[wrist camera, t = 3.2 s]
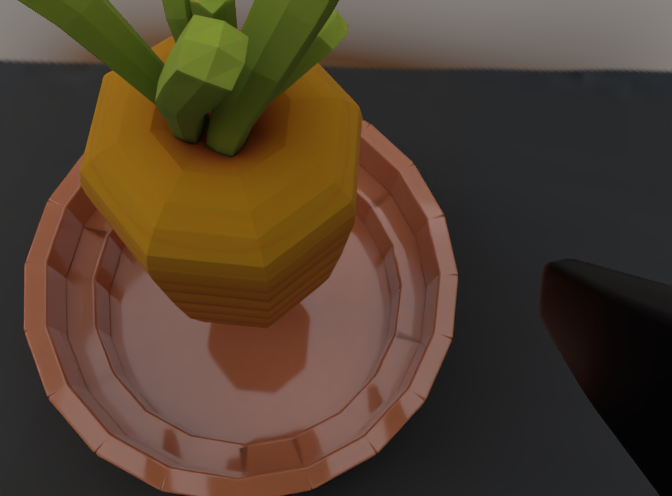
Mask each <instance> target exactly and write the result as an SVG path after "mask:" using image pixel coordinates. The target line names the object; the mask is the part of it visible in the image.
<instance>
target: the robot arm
mask: <svg viewBox="0 0 672 496" xmlns="http://www.w3.org/2000/svg"><path fill="white" fill-rule="evenodd" d="M539 312H540V317H541V319H542V322H543V324H544V326H545V327H546V329H547V331H548V332H549V334H550V336H551V337H552V339H553V341H554V343H555V344H556V346H557V348H558V349H559V351H560V353H561V354H562V356H563V358H564V360H565V361H566V363H567V365H568V366H569V368H570V370H571V371H572V373H573V375H574V376H575V378H576V380H577V382H578V383H579V385H580V387H581V388H582V390H583V391H584V393H585V394H586V396H587V398H588V399H589V401H590V402H591V403H592V405H593V406H594V408H595V409H596V410H597V412H598V413H599V415H600V416H601V417H602V419H603V420H604V421H605V423H606V424H607V425H608V427H609V428H610V429H611V431H612V432H613V433H614V435H615V436H616V437H617V439H618V440H619V441H620V443H621V444H622V446H623V447H624V448H625V450H626V451H627V452H628V454H629V455H630V456H631V458H632V459H633V460H634V462H635V463H636V464H637V466H638V467H639V468H640V470H641V471H642V472H643V474H644V475H645V476H646V478H647V479H648V480H649V482H650V483H651V484H652V486H653V487H654V488H655V490H656V491H657V493H658V494H659V495H660V496H672V286H671V285H667V284H664V283H660V282H656V281H653V280H649V279H645V278H642V277H638V276H634V275H631V274H627V273H623V272H620V271H616V270H612V269H609V268H605V267H601V266H598V265H594V264H591V263H587V262H583V261H580V260H576V259H564V260H559V261H553V262H549V263H548V264H546V265H545V267H544V269H543V273H542V282H541V292H540V303H539Z"/></svg>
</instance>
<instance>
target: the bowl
mask: <svg viewBox="0 0 672 496" xmlns="http://www.w3.org/2000/svg"><path fill="white" fill-rule="evenodd" d="M83 157H84V154H83V155H82V156H81V158H80V159H79V160H78V162H77V163H76V164H75V166H74V167H73V168H72V169H71V171H70V172H69V173H68V175H67V176H66V177H65V179H64V180H63V181H62V182H61V184H60V185H59V186H58V188H57V189H56V190H55V191H54V193H53V194H52V195H51V197H50V198H49V202H47V203H46V206H45V209H44V212H43V214H42V217H41V220H40V223H39V226H38V228H37V231H36V234H35V237H34V239H33V242H32V245H31V248H30V251H29V253H28V256H27V259H26V263H25V271H24V331H25V336H26V339H27V341H28V344H29V347H30V350H31V353H32V356H33V358H34V361H35V364H36V367H37V370H38V373H39V375H40V378H41V381H42V384H43V387H44V390H45V392H46V395H47V397H49V401H50V402H51V403H52V404H53V405H54V407H55V408H56V409H57V410H58V411H59V412H60V414H61V415H62V416H63V417H64V418H65V420H66V421H67V422H68V423H69V424H70V426H71V427H72V428H73V429H74V430H75V431H76V433H77V434H78V435H79V436H80V437H81V439H82V440H83V441H84V442H85V443H86V445H87V446H88V447H89V448H90V449H91V450H92V452H94V453H96V455H97V456H99V457H100V458H102V459H104V460H106V461H108V462H109V463H111V464H113V465H115V466H116V467H118V468H120V469H122V470H124V471H125V472H127V473H129V474H131V475H132V476H134V477H136V478H138V479H140V480H141V481H143V482H145V483H147V484H148V485H150V486H152V487H154V488H156V489H157V490H161V491H162V492H167V493H174V494H180V495H186V496H284V495H289V494H295V493H301V492H306V491H311V490H312V489H316V488H317V487H319V486H321V485H323V484H325V483H326V482H328V481H330V480H332V479H334V478H336V477H337V476H339V475H341V474H343V473H345V472H346V471H348V470H350V469H352V468H354V467H355V466H357V465H359V464H361V463H363V462H364V461H366V460H368V459H370V458H372V457H373V456H375V455H376V453H379V452H380V451H381V450H382V449H383V448H384V447H385V446H386V444H387V443H388V442H389V441H390V440H391V439H392V438H393V437H394V436H395V435H396V433H397V432H398V431H399V430H400V429H401V428H402V427H403V426H404V425H405V424H406V422H407V421H408V420H409V419H410V418H411V417H412V416H413V415H414V414H415V413H416V412H417V410H418V409H419V408H420V407H421V406H422V405H423V404H424V402H425V400H426V399H427V397H428V395H429V393H430V390H431V388H432V386H433V383H434V381H435V379H436V377H437V374H438V372H439V370H440V367H441V365H442V363H443V361H444V358H445V356H446V354H447V352H448V349H449V347H450V345H451V342H452V338H453V332H454V321H455V310H456V299H457V288H458V276H457V275H458V271H457V267H456V262H455V258H454V254H453V249H452V245H451V241H450V236H449V232H448V228H447V223H446V219H445V216H444V214H443V212H442V210H441V208H440V207H439V205H438V203H437V202H436V200H435V198H434V197H433V195H432V193H431V191H430V190H429V188H428V186H427V185H426V183H425V181H424V180H423V178H422V176H421V175H420V173H419V171H418V169H417V168H416V166H415V165H413V162H412V161H411V160H410V159H409V158H408V157H406V156H405V155H404V154H403V153H402V152H401V151H400V150H399V149H398V148H397V147H396V146H395V145H393V144H392V143H391V142H390V141H389V140H388V139H387V138H386V137H385V136H384V135H383V134H381V133H380V132H379V131H378V130H377V129H376V128H375V127H374V126H373V125H371V124H369V123H368V122H366V121H364V120H362V128H361V142H360V156H359V170H358V184H357V197H356V211H355V223H354V226H353V228H352V231H351V233H350V235H349V238H348V240H347V243H346V245H345V247H344V250H343V252H342V255H341V257H340V259H339V260H338V262H337V264H336V266H335V268H334V270H333V272H332V274H331V276H330V277H329V279H328V280H326V281H325V282H324V283H323V284H322V285H321V286H320V287H318V288H317V289H316V290H315V291H314V292H312V293H311V294H310V295H309V296H307V297H306V298H305V299H304V300H302V301H301V302H300V303H299V304H297V305H296V306H295V307H294V308H292V309H291V310H290V311H289V312H287V313H286V314H285V315H284V316H282V317H281V318H280V319H279V320H277V321H276V322H275V323H274V324H272V325H271V326H270V327H268V328H261V327H250V326H240V325H229V324H219V323H208V322H202V321H198V320H195V319H191V318H189V317H188V316H187V315H186V314H185V313H184V312H183V311H182V310H181V309H179V308H178V307H177V306H176V305H175V304H174V303H173V302H172V301H171V300H170V299H169V298H168V296H167V295H166V294H165V293H164V292H163V291H162V290H161V289H160V288H159V286H158V285H157V284H156V283H155V282H154V281H153V280H152V279H151V277H150V276H149V275H148V273H147V272H146V271H145V270H144V268H143V267H142V266H141V264H140V263H139V262H138V261H137V259H136V258H135V257H134V256H133V254H132V253H131V252H130V250H129V249H128V248H127V247H126V245H125V244H124V243H123V241H122V240H121V239H120V238H119V236H118V235H117V234H116V233H115V231H114V230H113V229H112V227H111V226H110V225H109V224H108V222H107V221H106V220H105V218H104V217H103V216H102V215H101V213H100V212H99V211H98V210H97V208H96V207H95V206H94V204H93V203H92V202H91V201H90V199H89V198H88V197H87V195H86V194H85V192H84V190H83V188H82V186H81V184H80V169H81V165H82V161H83Z"/></svg>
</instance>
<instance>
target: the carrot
mask: <svg viewBox="0 0 672 496" xmlns="http://www.w3.org/2000/svg"><path fill="white" fill-rule="evenodd" d="M18 1H20V2H22V3H23V4H25V5H26V6H28V7H29V8H31V9H32V10H34V11H35V12H37V13H39V14H40V15H41V16H43V17H45V18H46V19H47V20H49V21H50V22H52V23H54V24H55V25H57V26H58V27H59V28H61V29H62V30H63V31H64V32H66V33H67V34H68V35H69V36H71V37H72V38H73V39H74V40H76V41H77V42H78V43H79V44H81V45H82V46H83V47H84V48H86V49H87V50H88V51H89V52H91V53H92V54H93V55H94V56H96V57H97V58H98V59H99V60H101V61H102V62H103V63H104V64H106V65H107V66H108V67H109V68H111V69H112V70H113V71H111V72H109V73H108V74H106V75H104V77H103V81H102V85H101V89H100V93H99V97H98V101H97V105H96V109H95V113H94V117H93V121H92V125H91V129H90V133H89V137H88V141H87V145H86V149H85V153H84V157H83V161H82V165H81V169H80V184H81V186H82V188H83V190H84V192H85V194H86V195H87V197H88V198H89V199H90V201H91V202H92V203H93V204H94V206H95V207H96V208H97V210H98V211H99V212H100V213H101V215H102V216H103V217H104V218H105V220H106V221H107V222H108V224H109V225H110V226H111V227H112V229H113V230H114V231H115V233H116V234H117V235H118V236H119V238H120V239H121V240H122V241H123V243H124V244H125V245H126V247H127V248H128V249H129V250H130V252H131V253H132V254H133V256H134V257H135V258H136V259H137V261H138V262H139V263H140V264H141V266H142V267H143V268H144V270H145V271H146V272H147V273H148V275H149V276H150V277H151V279H152V280H153V281H154V282H155V283H156V284H157V285H158V286H159V288H160V289H161V290H162V291H163V292H164V293H165V294H166V295H167V296H168V298H169V299H170V300H171V301H172V302H173V303H174V304H175V305H176V306H177V307H178V308H179V309H181V310H182V311H183V312H184V313H185V314H186V315H187V316H188V317H189V318H191V319H195V320H198V321H202V322H208V323H219V324H229V325H240V326H250V327H261V328H268V327H270V326H271V325H272V324H274V323H275V322H276V321H277V320H279V319H280V318H281V317H282V316H284V315H285V314H286V313H287V312H289V311H290V310H291V309H292V308H294V307H295V306H296V305H297V304H299V303H300V302H301V301H302V300H304V299H305V298H306V297H307V296H309V295H310V294H311V293H312V292H314V291H315V290H316V289H317V288H318V287H320V286H321V285H322V284H323V283H324V282H325V281H326V280H328V279H329V277H330V276H331V274H332V272H333V270H334V268H335V266H336V264H337V262H338V260H339V259H340V257H341V255H342V252H343V250H344V247H345V245H346V243H347V240H348V238H349V235H350V233H351V231H352V228H353V226H354V223H355V211H356V197H357V184H358V170H359V156H360V142H361V128H362V114H361V111H360V108H359V106H358V105H357V104H356V103H355V101H354V100H353V99H352V98H351V97H350V96H349V95H348V94H347V93H346V92H345V91H344V90H343V89H342V88H341V87H340V86H339V85H338V84H337V82H336V81H335V80H334V79H333V78H332V77H331V76H330V75H329V74H328V73H327V72H326V71H325V70H324V69H323V68H322V67H321V66H320V65H319V63H318V62H319V61H320V60H322V59H323V58H324V57H325V56H326V55H327V54H328V53H330V52H331V51H332V50H333V49H334V48H335V47H336V46H337V45H338V44H339V43H340V42H341V41H342V40H343V38H344V37H345V36H346V35H347V33H348V24H347V23H346V22H345V21H344V19H343V18H342V16H341V15H340V14H339V12H338V11H337V10H334V9H335V7H336V5H337V3H338V1H339V0H254V3H253V5H252V7H251V9H250V12H249V14H248V16H247V19H246V21H245V23H244V26H243V28H242V30H237V21H236V8H235V0H162V2H163V6H164V11H165V15H166V19H167V22H168V24H169V27H170V30H171V32H172V36H171V37H169V38H167V39H166V40H164V41H162V42H161V43H159V44H157V45H155V46H154V47H152V48H150V47H149V46H148V45H147V43H146V42H145V41H144V40H143V39H142V38H141V37H140V35H139V34H138V33H137V32H136V31H135V30H134V29H133V28H132V26H131V25H130V24H129V23H128V22H127V21H126V20H125V19H124V18H123V17H122V15H121V14H120V13H119V12H118V11H117V10H116V9H115V8H114V6H113V5H112V4H111V3H110V2H109V1H108V0H18Z"/></svg>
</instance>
